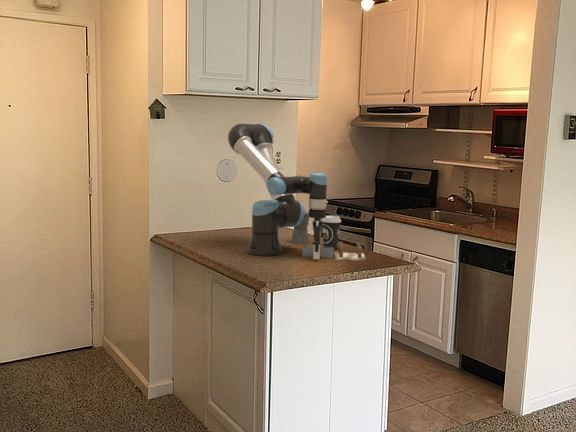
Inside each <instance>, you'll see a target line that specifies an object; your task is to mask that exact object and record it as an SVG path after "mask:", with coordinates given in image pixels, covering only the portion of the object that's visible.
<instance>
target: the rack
mask: <svg viewBox="0 0 576 432" xmlns="http://www.w3.org/2000/svg"><path fill="white" fill-rule="evenodd" d="M362 249H363V246H362V245H361V242H358V241H357V242H356V252H344V245H343V241H338V251H334V260H335V261H337V260H338V261H339V260H340V261H363V262H364V261H365V262H366V255H365V253H363V251H362Z"/></svg>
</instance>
